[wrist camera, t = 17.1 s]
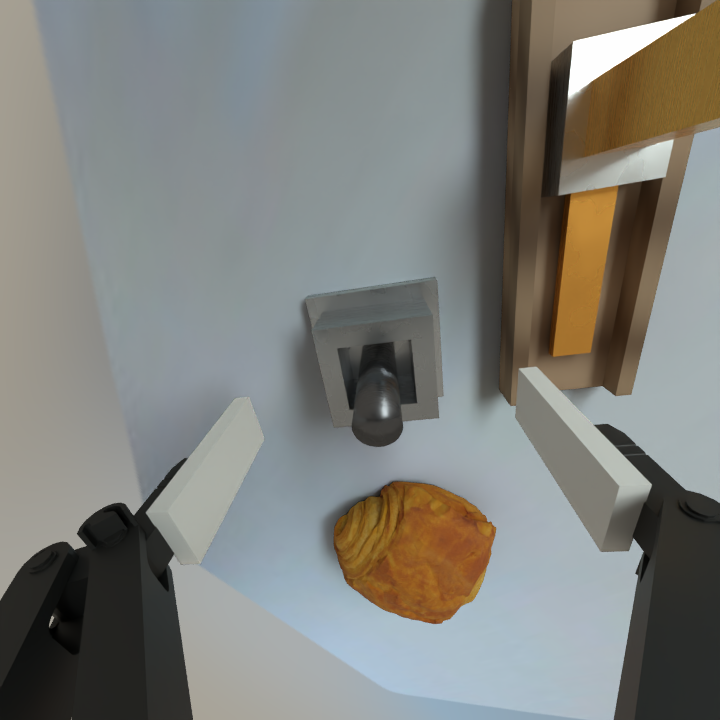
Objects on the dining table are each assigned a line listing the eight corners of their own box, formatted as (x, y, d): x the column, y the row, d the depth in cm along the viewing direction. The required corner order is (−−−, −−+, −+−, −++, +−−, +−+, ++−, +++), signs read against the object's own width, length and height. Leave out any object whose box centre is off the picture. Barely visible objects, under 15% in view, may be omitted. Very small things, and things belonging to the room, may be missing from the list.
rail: (513, -46, 14) (537, -93, 12) (702, -96, 14) (764, -156, 11) (499, 389, 24) (510, 405, 22) (608, 378, 23) (631, 394, 21)
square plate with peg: (308, 295, 22) (258, 350, 13) (434, 277, 21) (475, 322, 12) (332, 401, 26) (306, 500, 17) (441, 389, 25) (476, 489, 16)
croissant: (420, 565, 38) (436, 651, 31) (313, 526, 33) (304, 618, 26) (512, 506, 32) (556, 595, 26) (400, 448, 27) (418, 540, 20)
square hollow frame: (322, 311, 21) (311, 330, 18) (423, 297, 21) (432, 314, 17) (340, 396, 24) (334, 427, 21) (430, 387, 24) (439, 417, 20)
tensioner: (550, 62, 15) (747, -117, 7) (661, 37, 15) (1020, -191, 6) (528, 354, 22) (617, 437, 14) (604, 346, 21) (745, 427, 13)
